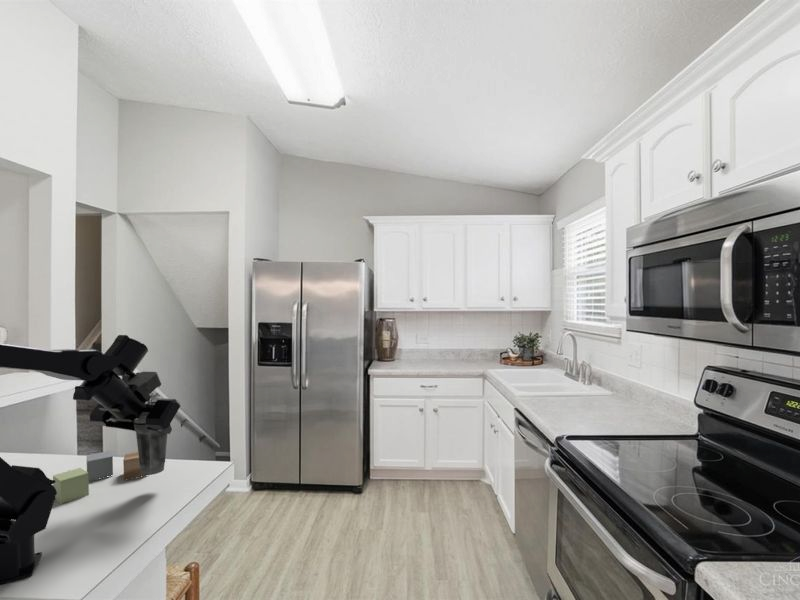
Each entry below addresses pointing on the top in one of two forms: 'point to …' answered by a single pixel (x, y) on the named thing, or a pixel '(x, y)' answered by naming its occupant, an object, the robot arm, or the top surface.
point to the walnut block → (131, 465)
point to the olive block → (71, 485)
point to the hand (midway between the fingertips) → (157, 431)
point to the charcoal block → (99, 465)
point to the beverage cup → (150, 447)
